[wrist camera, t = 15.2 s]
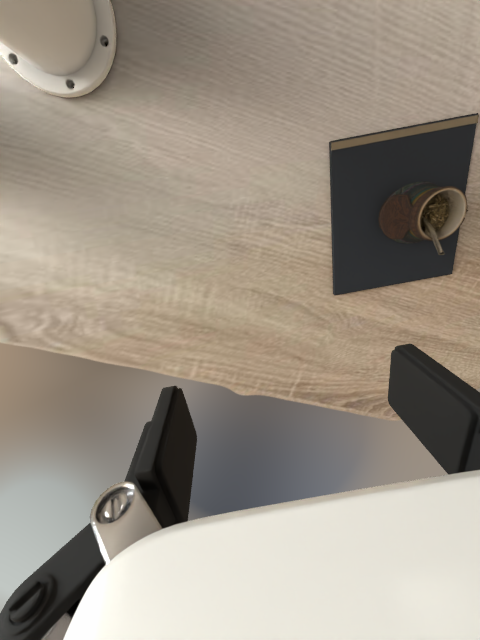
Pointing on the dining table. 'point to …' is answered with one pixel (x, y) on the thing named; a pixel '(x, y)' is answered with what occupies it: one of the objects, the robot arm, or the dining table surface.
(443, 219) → the mate gourd
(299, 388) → the dining table surface
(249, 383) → the dining table surface
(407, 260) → the mat
